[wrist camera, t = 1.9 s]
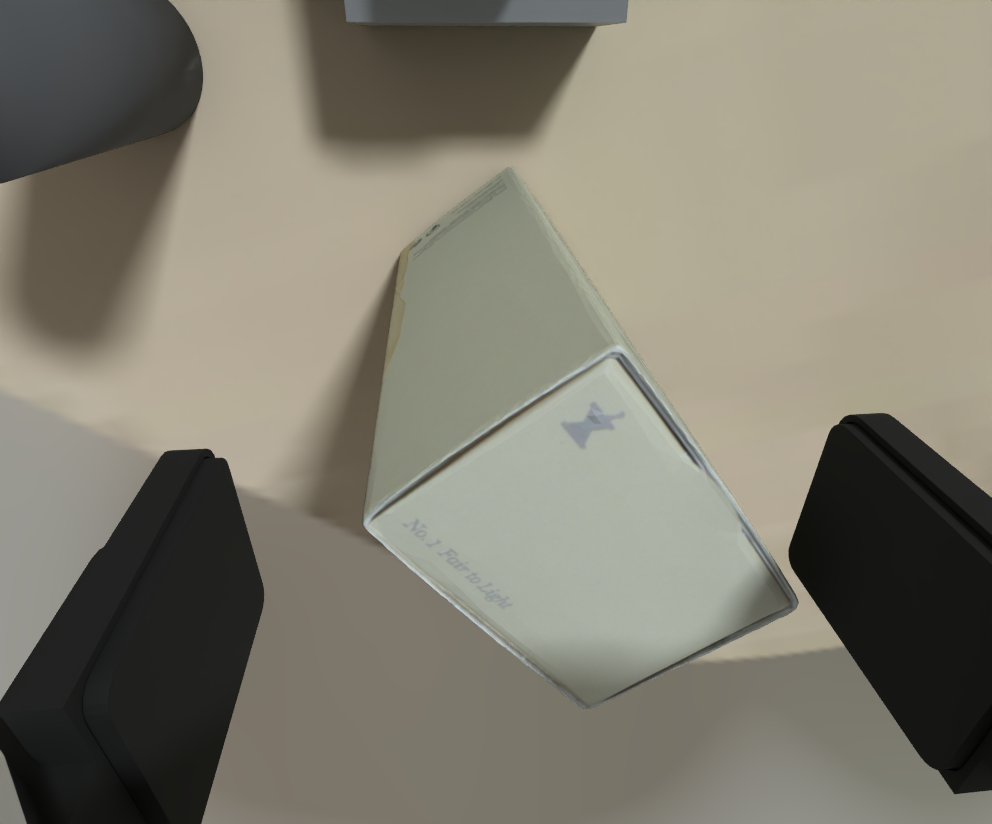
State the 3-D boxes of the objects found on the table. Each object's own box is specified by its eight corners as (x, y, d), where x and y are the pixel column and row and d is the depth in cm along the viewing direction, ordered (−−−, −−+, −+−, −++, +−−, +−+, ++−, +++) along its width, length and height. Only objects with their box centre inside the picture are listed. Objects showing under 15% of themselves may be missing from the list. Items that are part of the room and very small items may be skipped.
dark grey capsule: (181, -30, 15) (-1, -81, 9) (217, 134, 16) (87, 185, 10) (25, -31, 14) (-272, -84, 8) (79, 135, 16) (-134, 188, 10)
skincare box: (396, 250, 18) (328, 516, 8) (516, 157, 17) (617, 325, 7) (515, 393, 21) (578, 725, 11) (624, 320, 20) (812, 615, 10)
